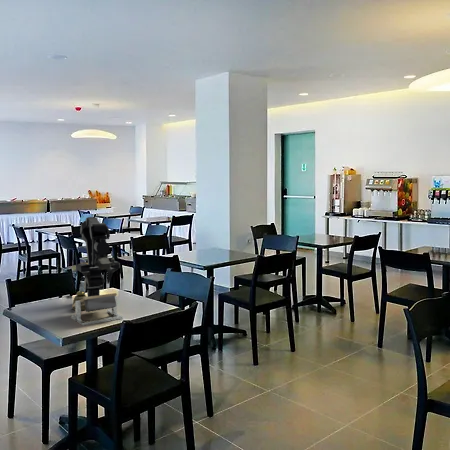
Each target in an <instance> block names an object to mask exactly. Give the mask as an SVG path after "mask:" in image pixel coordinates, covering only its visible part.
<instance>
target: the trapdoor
mask: <svg viewBox="0 0 450 450" xmlns="http://www.w3.org/2000/svg"><path fill="white" fill-rule="evenodd" d="M115 296H118V294H117V292H115V293H114V292H113V293H106V294H100V295H97V296H90V297H84V298H83V299H81V300H79V301H81V306H84V305H85V309H86V310H85V313H88V312H95V311H101V310H111V309H112V308H114V307H116V301H115ZM71 307H72V308H73V307H75V303H74V304H73V303H72V305H71Z"/></svg>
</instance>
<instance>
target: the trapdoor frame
mask: <svg viewBox="0 0 450 450" xmlns="http://www.w3.org/2000/svg"><path fill="white" fill-rule="evenodd" d="M115 301H116V307H114V308H111V309H106V313H107V314H109V315H111V317H106V318H104V317H103V318H99V319H92V320H87V321H85V320H83V319H82V314H81V313H82V309H81V301H75V310H74V312H75V314H74V315H71V316H70V318H71V319H72V320H74V321H75V322H77V323H79V324H80V325H81V326H88V325H94V324H98V323H99V324H100V323H105V322H111V320H112V321H117V320H116V319H118V320H122V319H124V316H122V315H121V314H119V313H118V295H116V296H115Z"/></svg>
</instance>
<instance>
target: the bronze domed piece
mask: <svg viewBox="0 0 450 450" xmlns="http://www.w3.org/2000/svg"><path fill="white" fill-rule="evenodd" d="M84 297H87V295H86V292H85V291H84V290H81V291H77V292H76V295H75V296H74V298H73V301H72V305H73V304H74V303H75V301H79V300H81V299H83V298H84ZM71 310H74V311H75V307H72V309H71ZM84 311H86V309H85V305H84V306H81V312H84Z"/></svg>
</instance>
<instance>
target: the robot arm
mask: <svg viewBox="0 0 450 450" xmlns="http://www.w3.org/2000/svg"><path fill="white" fill-rule="evenodd" d="M80 224H81V225H80V229H79V231H80V232H79V234H80V235H81V239H82V240H83V241H84V243H85V247H86V257H87V263H85V262H84V263H78V264H77V265H76V271H78V272H80V273H82V275H83V277H84V281H83V289H84V290H85V291H87V295H86V296H87V297H90V296H97V295H101V294H100V291H101V290H104V288H105V287H104V286H105V281H106V283H107V285H109V284H110V282H111V279H112V277H113V274H114V273H115V272H116V271H118V270H119V269H120V268H121V263H120V261H116V260H115V258H114V257H108V256H107V254H108V253H109V251H110V244H109V243H108V242H107V240H109V239H110V236H111V234H110V230H109V227H108V225H107V224H106V223H104V222H100V221H99V220H98V217H95V216H87V217H86V218H85V220H84V221H82V222H81V223H80ZM104 270H106V280H105V279H104V276H103V274H102V271H104Z"/></svg>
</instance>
